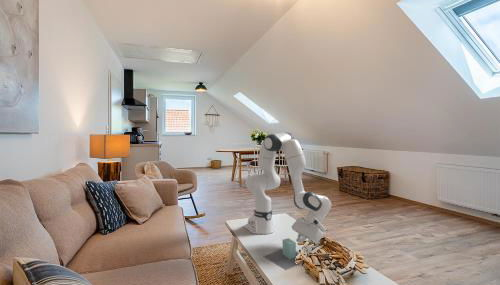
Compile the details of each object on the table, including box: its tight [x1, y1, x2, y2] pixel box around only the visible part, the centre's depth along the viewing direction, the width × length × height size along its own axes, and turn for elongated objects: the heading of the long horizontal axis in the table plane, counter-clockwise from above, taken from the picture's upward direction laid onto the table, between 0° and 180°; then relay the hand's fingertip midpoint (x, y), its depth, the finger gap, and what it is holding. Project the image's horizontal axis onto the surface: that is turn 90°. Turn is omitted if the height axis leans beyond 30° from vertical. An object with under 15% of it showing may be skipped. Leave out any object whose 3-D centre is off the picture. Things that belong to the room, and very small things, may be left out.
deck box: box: [282, 237, 297, 259], centre depth 132 cm, size 6×4×8 cm, turn 27°
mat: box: [263, 248, 299, 271], centre depth 130 cm, size 17×18×1 cm
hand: (298, 242), depth 134 cm, fingers closed
